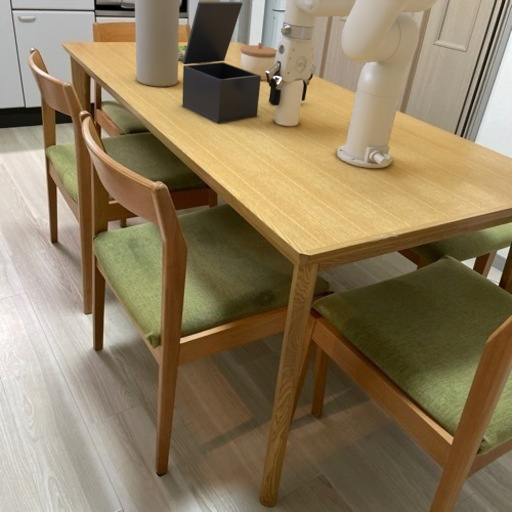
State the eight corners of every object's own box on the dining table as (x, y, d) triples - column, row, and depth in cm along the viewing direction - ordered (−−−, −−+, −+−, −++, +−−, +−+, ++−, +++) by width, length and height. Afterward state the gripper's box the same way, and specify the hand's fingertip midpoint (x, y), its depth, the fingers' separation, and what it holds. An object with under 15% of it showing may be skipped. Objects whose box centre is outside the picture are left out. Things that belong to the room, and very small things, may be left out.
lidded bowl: (280, 82, 176) (285, 47, 170) (246, 82, 171) (249, 46, 165) (266, 72, 186) (270, 39, 180) (233, 72, 181) (235, 38, 175)
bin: (257, 116, 141) (261, 75, 135) (218, 123, 133) (220, 80, 127) (220, 100, 150) (223, 61, 144) (182, 106, 142) (183, 65, 136)
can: (269, 122, 137) (275, 76, 131) (280, 117, 142) (286, 72, 136) (291, 128, 135) (298, 81, 129) (301, 123, 140) (308, 77, 134)
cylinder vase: (129, 83, 156) (126, -10, 143) (146, 74, 167) (145, -13, 153) (168, 89, 154) (169, -4, 141) (183, 80, 165) (185, -7, 151)
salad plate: (200, 67, 183) (201, 53, 180) (155, 58, 187) (155, 44, 184) (222, 58, 198) (222, 45, 196) (180, 50, 203) (180, 37, 200)
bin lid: (242, 3, 132) (230, -8, 134) (200, 3, 124) (187, -9, 126) (224, 61, 144) (213, 49, 146) (184, 64, 136) (173, 52, 138)
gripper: (283, 37, 119) (273, 110, 129) (331, 34, 130) (319, 102, 139) (261, 29, 124) (253, 101, 133) (310, 27, 134) (299, 93, 143)
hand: (287, 101), depth 136 cm, fingers open, 9 cm apart
